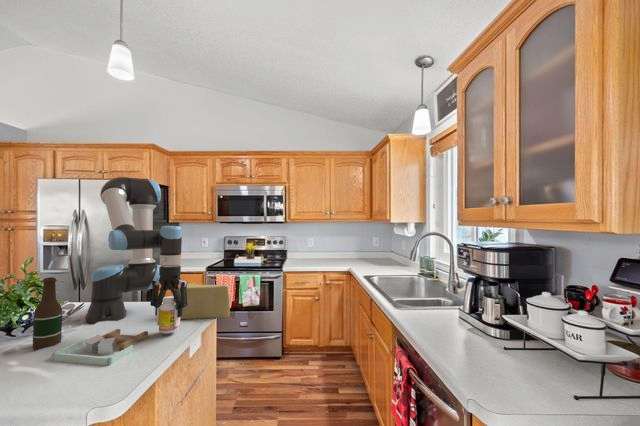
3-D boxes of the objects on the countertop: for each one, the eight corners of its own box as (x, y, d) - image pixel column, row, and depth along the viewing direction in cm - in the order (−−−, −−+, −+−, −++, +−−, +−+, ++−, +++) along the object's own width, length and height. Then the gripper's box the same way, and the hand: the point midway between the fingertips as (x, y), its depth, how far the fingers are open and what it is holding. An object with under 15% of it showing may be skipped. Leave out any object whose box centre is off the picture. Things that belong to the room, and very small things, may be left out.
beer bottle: (66, 344, 109) (69, 277, 110) (40, 353, 102) (43, 281, 102) (52, 340, 112) (55, 275, 112) (26, 349, 104) (29, 279, 105)
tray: (80, 349, 105) (80, 340, 105) (133, 354, 103) (133, 345, 103) (51, 363, 95) (51, 353, 95) (109, 368, 93) (109, 358, 93)
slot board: (116, 336, 117) (116, 329, 117) (147, 339, 115) (148, 331, 115) (89, 350, 105) (89, 341, 105) (123, 353, 103) (124, 344, 103)
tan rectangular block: (231, 313, 148) (232, 282, 148) (226, 320, 138) (227, 287, 138) (184, 313, 147) (185, 282, 147) (176, 320, 137) (177, 286, 137)
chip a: (99, 345, 106) (98, 334, 105) (106, 348, 104) (104, 338, 103) (86, 351, 103) (85, 340, 102) (92, 355, 101) (91, 344, 100)
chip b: (102, 350, 103) (101, 339, 103) (116, 348, 105) (115, 337, 104) (98, 357, 99) (97, 345, 99) (113, 354, 101) (112, 343, 100)
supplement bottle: (169, 334, 115) (170, 300, 115) (154, 333, 116) (155, 299, 116) (181, 328, 121) (182, 296, 121) (166, 326, 123) (167, 294, 123)
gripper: (140, 265, 116) (138, 326, 116) (188, 268, 114) (186, 329, 114) (153, 263, 124) (151, 319, 123) (198, 265, 121) (197, 323, 121)
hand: (168, 324), depth 118 cm, fingers closed on supplement bottle, 7 cm apart
